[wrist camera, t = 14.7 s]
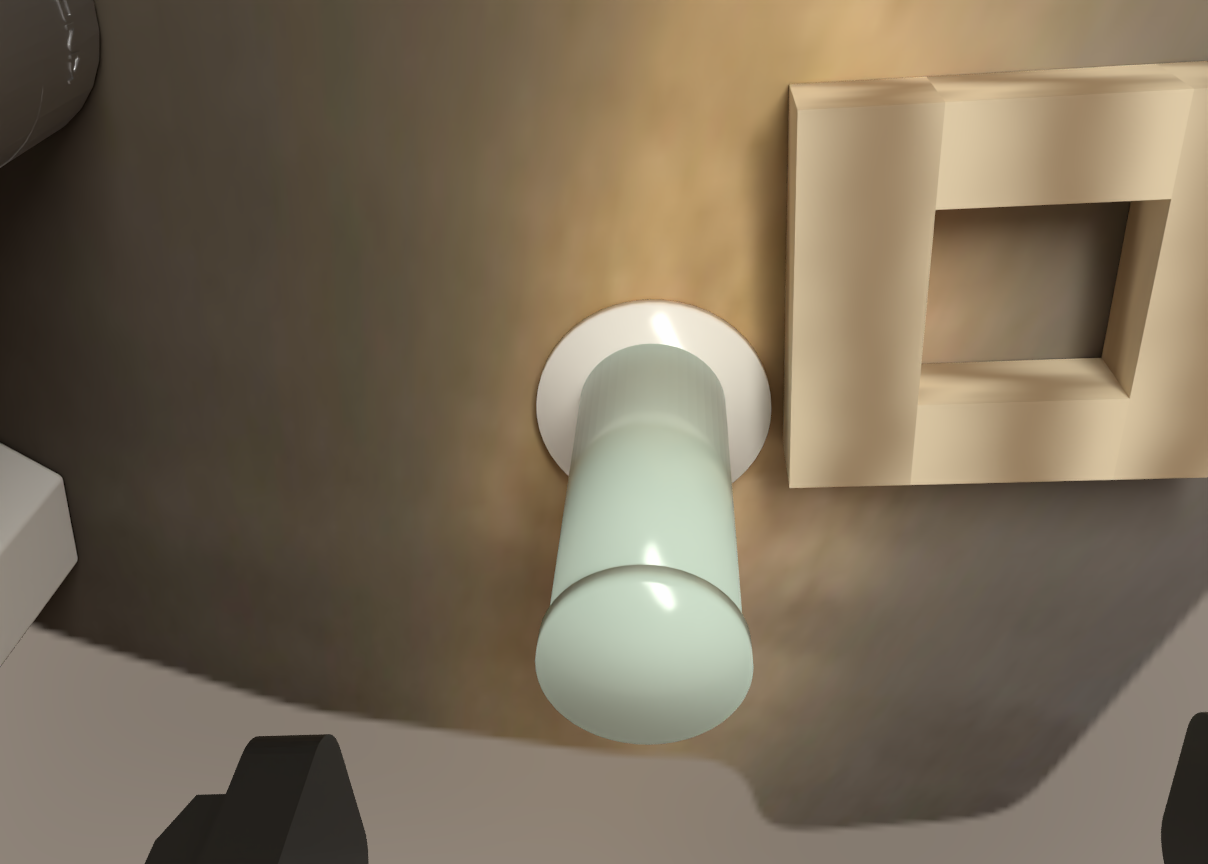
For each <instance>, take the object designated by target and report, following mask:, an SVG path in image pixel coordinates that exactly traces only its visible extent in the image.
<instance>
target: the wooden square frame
mask: <svg viewBox="0 0 1208 864" xmlns="http://www.w3.org/2000/svg"><path fill="white" fill-rule="evenodd" d="M1118 201H1131V204H1130V209H1129V214H1128V220H1127V225H1126V230H1125V236H1124V241H1123V246H1122V252H1121V257H1120V262H1119V268H1118V273H1117V278H1116V284H1115V289H1114V294H1113V300H1112V305H1111V310H1110V316H1109V321H1108V326H1107V332H1106V337H1105V342H1104V347H1103V353H1102V358H1078V359H1049V360H1020V361H992V362H963V363H934V364H921V363H922V352H923V341H924V330H925V319H926V308H927V297H928V286H929V275H930V264H931V254H932V243H933V232H934V221H935V210H944V209H966V208H988V207H1009V206H1031V205H1053V204H1074V203H1096V202H1118ZM783 449H784V456H785V463H786V469H787V476H788V482H789V488H812V487H851V486H890V485H928V484H967V483H1006V482H1045V481H1084V480H1123V479H1161V478H1200V477H1208V61H1197V62H1179V63H1162V64H1144V65H1126V66H1108V67H1090V68H1072V69H1054V70H1036V71H1018V72H1001V73H983V74H965V75H947V76H929V77H911V78H893V79H875V80H857V81H840V82H822V83H804V84H789V121H788V177H787V233H786V290H785V346H784V403H783Z"/></svg>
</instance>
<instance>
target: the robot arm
mask: <svg viewBox="0 0 1208 864" xmlns="http://www.w3.org/2000/svg"><path fill="white" fill-rule="evenodd" d="M98 63H99V26H98V21H97V16H96V11H95V6H94V1H93V0H0V168H1V167H2V166H4V165H5V164H7V163H8V162H10V161H11V160H13V159H15V158H16V157H18V156H19V155H21V154H22V153H24V152H25V151H27V150H29V149H30V148H32V147H33V146H35V145H36V144H38V143H40V142H41V141H43V140H44V139H46V138H47V137H49V136H50V135H52V134H54V133H55V132H57V131H58V130H60V129H61V128H63V127H65V126H66V124H67V123H68V122H69V121H70V120H71V119H72V118H73V117H74V116H75V115H76V114H77V113H78V112H79V111H80V110H81V108H82V107H83V105H84V103H85V101H86V99H87V97H88V95H89V93H90V91H91V89H92V88H93V85H94V80H95V76H96V72H97V68H98ZM1161 843H1162V852H1163V859H1164V864H1208V712H1201V713H1197V714H1196V715H1194V716H1193V717H1192V719H1191V721H1190V723H1189V725H1188V728H1187V732H1186V735H1185V739H1184V743H1183V746H1182V750H1181V754H1180V757H1179V761H1178V765H1177V768H1176V772H1175V776H1174V779H1173V783H1172V786H1171V790H1170V794H1169V797H1168V801H1167V804H1166V808H1165V812H1164V815H1163V820H1162V827H1161ZM145 864H368V847H367V839H366V834H365V830H364V827H363V823H362V820H361V817H360V813H359V810H358V807H357V803H356V800H355V797H354V793H353V790H352V786H351V783H350V780H349V777H348V773H347V770H346V766H345V763H344V760H343V757H342V753H341V750H340V747H339V744H338V742H337V740H336V738H335V737H334V736H333V735H330V734H326V735H293V736H292V735H290V736H259V737H255V738H253V739H252V740H251V741H250V742H249V743H248V744H247V746H246V747H245V749H244V751H243V754H242V756H241V758H240V761H239V763H238V766H237V768H236V770H235V773H234V775H233V778H232V780H231V783H230V785H229V788H228V790H227V793H226V794H216V795H215V794H214V795H213V794H212V795H196V796H195V797H194V799H193V800H192V801H191V802H190V803H189V804H188V805H187V806H186V807H185V808H184V810H183V811H182V812H181V813H180V814H179V815H178V816H177V817H176V818H175V820H174V821H173V822H172V823H171V824H170V825H169V826H168V827H167V828H166V829H165V831H164V832H163V833H162V834H161V835H160V836H159V837H158V838H157V839H156V841H155V842H154V844H153V847H152V849H151V851H150V853H149V855H148V858H147V860H146V862H145Z"/></svg>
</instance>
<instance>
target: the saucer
mask: <svg viewBox="0 0 1208 864" xmlns="http://www.w3.org/2000/svg"><path fill="white" fill-rule="evenodd" d="M639 344H664V345H670V346H674V347H678V348H680V349H683V350H685V351H688V352H690V353H691V354H693V355H695V356H697V357H698V358H699V359H701V360H702V361H703V362H704V363H706V364H707V365H708V366H709V367H710V368H711V370H712V371H713V372H714V373H715V375H716V376H717V378H718V380H719V381H720V383H721V386H722V388H723V391H724V395H725V401H726V413H727V426H728V439H729V452H730V465H731V478H732V483H733V482H734V481H735V480H737V479H738V478H739V477H740V476H741V475H742V474H743V473H744V472H745V471H746V470H747V469H748V468H749V467H750V465H751V464H752V463H753V461H754V460H755V459H756V457H757V456H758V454H759V452H760V450H761V449H762V447H763V444H764V442H765V439H766V437H767V434H768V430H769V426H770V421H771V410H772V408H771V395H770V388H769V383H768V379H767V374H766V372H765V369H764V367H763V364H762V362H761V360H760V358H759V356H758V355H757V353H756V351H755V350H754V348H753V347H752V346H751V344H750V343H749V342H748V341H747V339H746V338H745V337H744V336H743V335H742V334H741V333H740V332H739V331H738V330H737V329H736V328H734V327H733V326H732V325H730V324H729V323H728V322H726V321H725V320H724V319H722V318H720V317H718V316H717V315H715V314H713V313H711V312H709V311H707V310H704V309H702V308H699V307H697V306H694V305H690V304H686V303H683V302H678V301H671V300H662V299H645V300H635V301H629V302H624V303H620V304H616V305H613V306H610V307H607V308H605V309H602V310H600V311H598V312H596V313H594V314H592V315H590V316H588V317H586V318H585V319H584V320H582V321H581V322H579V323H578V324H576V325H575V326H574V327H573V328H572V329H570V330H569V331H568V332H567V333H566V334H565V335H564V336H563V337H562V339H561V340H560V341H559V342H558V343H557V344H556V346H555V347H554V349H553V350H552V352H551V354H550V355H549V357H548V359H547V361H546V364H545V366H544V368H543V371H542V375H541V378H540V382H539V387H538V393H537V402H536V408H537V420H538V425H539V430H540V433H541V435H542V438H543V441H544V443H545V445H546V447H547V449H548V451H549V453H550V454H551V456H552V457H553V459H554V460H555V461H556V463H557V464H558V465H559V467H560V468H561V469H562V470H563V471H564V472H565V473H566V474H567V475H568V476H569V471H570V464H571V457H572V451H573V444H574V437H575V430H576V423H577V416H578V409H579V402H580V395H581V392H582V388H583V385H584V383H585V381H586V379H587V377H588V376H589V374H590V373H591V371H592V370H593V369H594V368H595V367H596V366H597V365H598V364H599V363H600V362H601V361H602V360H603V359H605V358H606V357H608V356H609V355H611V354H613V353H615V352H617V351H619V350H621V349H624V348H627V347H630V346H634V345H639Z"/></svg>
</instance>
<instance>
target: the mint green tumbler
mask: <svg viewBox="0 0 1208 864" xmlns="http://www.w3.org/2000/svg"><path fill="white" fill-rule="evenodd" d="M535 664H536V673H537V677H538V681H539V683H540V686H541V688H542V691H543V692H544V694H545V695H546V697H547V699H548V700H549V701H550V703H551V704H552V705H553V706H554V707H555V709H556V710H557V711H559V712H560V713H561V714H562V715H563V716H564V717H565V718H567V719H568V720H569V721H571V722H572V723H573V724H575V725H577V726H579V727H580V728H582V729H584V730H586V731H588V732H590V733H593V734H595V735H597V736H600V737H603V738H607V739H610V740H614V741H619V742H624V743H632V744H649V745H650V744H665V743H671V742H677V741H681V740H685V739H689V738H692V737H695V736H697V735H700V734H702V733H704V732H706V731H708V730H711V729H712V728H714V727H716V726H717V725H719V724H720V723H722V722H723V721H724V720H726V719H727V718H728V717H729V716H730V715H732V713H733V712H734V711H735V710H736V709H737V708H738V707H739V706H740V704H741V703H742V701H743V700H744V698H745V696H746V694H747V692H748V690H749V688H750V684H751V681H752V677H753V656H752V645H751V635H750V631H749V628H748V625H747V622H746V620H745V618H744V616H743V614H742V608H741V595H740V582H739V569H738V556H737V543H736V530H735V517H734V504H733V491H732V478H731V465H730V452H729V439H728V426H727V413H726V401H725V395H724V391H723V388H722V386H721V383H720V381H719V380H718V378H717V376H716V375H715V373H714V372H713V371H712V370H711V368H710V367H709V366H708V365H707V364H706V363H704V362H703V361H702V360H701V359H699V358H698V357H697V356H695V355H693V354H691V353H690V352H688V351H685V350H683V349H680V348H678V347H674V346H670V345H664V344H639V345H634V346H630V347H627V348H624V349H621V350H619V351H617V352H615V353H613V354H611V355H609V356H608V357H606V358H605V359H603V360H602V361H601V362H600V363H599V364H598V365H597V366H596V367H595V368H594V369H593V370H592V371H591V373H590V374H589V376H588V377H587V379H586V381H585V383H584V385H583V388H582V392H581V395H580V402H579V409H578V416H577V423H576V430H575V437H574V444H573V451H572V457H571V464H570V471H569V478H568V485H567V492H566V499H565V506H564V513H563V520H562V527H561V534H560V541H559V548H558V555H557V561H556V568H555V575H554V582H553V589H552V596H551V603H550V607H549V608H548V609H547V611H546V613H545V615H544V617H543V619H542V623H541V626H540V629H539V636H538V643H537V649H536V657H535Z"/></svg>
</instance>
